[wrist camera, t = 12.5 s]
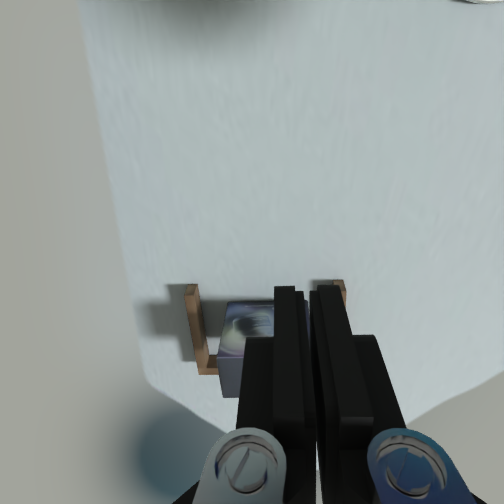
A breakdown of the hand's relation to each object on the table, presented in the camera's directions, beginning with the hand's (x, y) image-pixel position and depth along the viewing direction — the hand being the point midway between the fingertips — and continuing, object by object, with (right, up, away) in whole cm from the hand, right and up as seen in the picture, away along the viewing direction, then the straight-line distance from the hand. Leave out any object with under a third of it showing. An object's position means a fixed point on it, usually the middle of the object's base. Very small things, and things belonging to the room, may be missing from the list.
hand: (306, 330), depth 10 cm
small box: (+1, -7, +40) cm, 41 cm away
